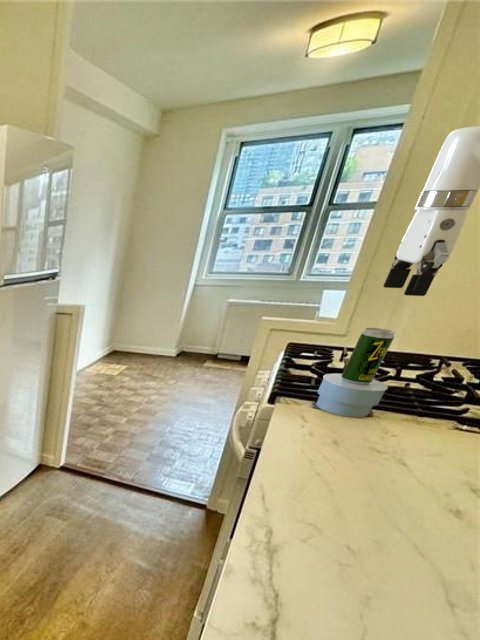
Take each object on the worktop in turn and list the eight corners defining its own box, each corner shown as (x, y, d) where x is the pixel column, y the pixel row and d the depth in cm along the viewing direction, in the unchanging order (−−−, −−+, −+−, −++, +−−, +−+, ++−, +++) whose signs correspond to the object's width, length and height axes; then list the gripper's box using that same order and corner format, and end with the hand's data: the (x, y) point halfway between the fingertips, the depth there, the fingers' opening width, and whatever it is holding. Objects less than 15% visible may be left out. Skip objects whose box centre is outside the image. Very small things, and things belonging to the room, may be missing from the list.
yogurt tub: (362, 404, 119) (375, 377, 115) (382, 422, 110) (397, 393, 106) (305, 397, 123) (316, 371, 119) (319, 414, 114) (332, 386, 110)
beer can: (333, 378, 115) (357, 328, 109) (352, 377, 116) (376, 327, 110) (357, 386, 110) (382, 334, 104) (376, 384, 111) (403, 333, 105)
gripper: (498, 201, 87) (448, 299, 94) (446, 200, 100) (406, 285, 108) (442, 202, 89) (398, 297, 97) (399, 201, 103) (363, 284, 111)
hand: (402, 291), depth 103 cm, fingers open, 9 cm apart
